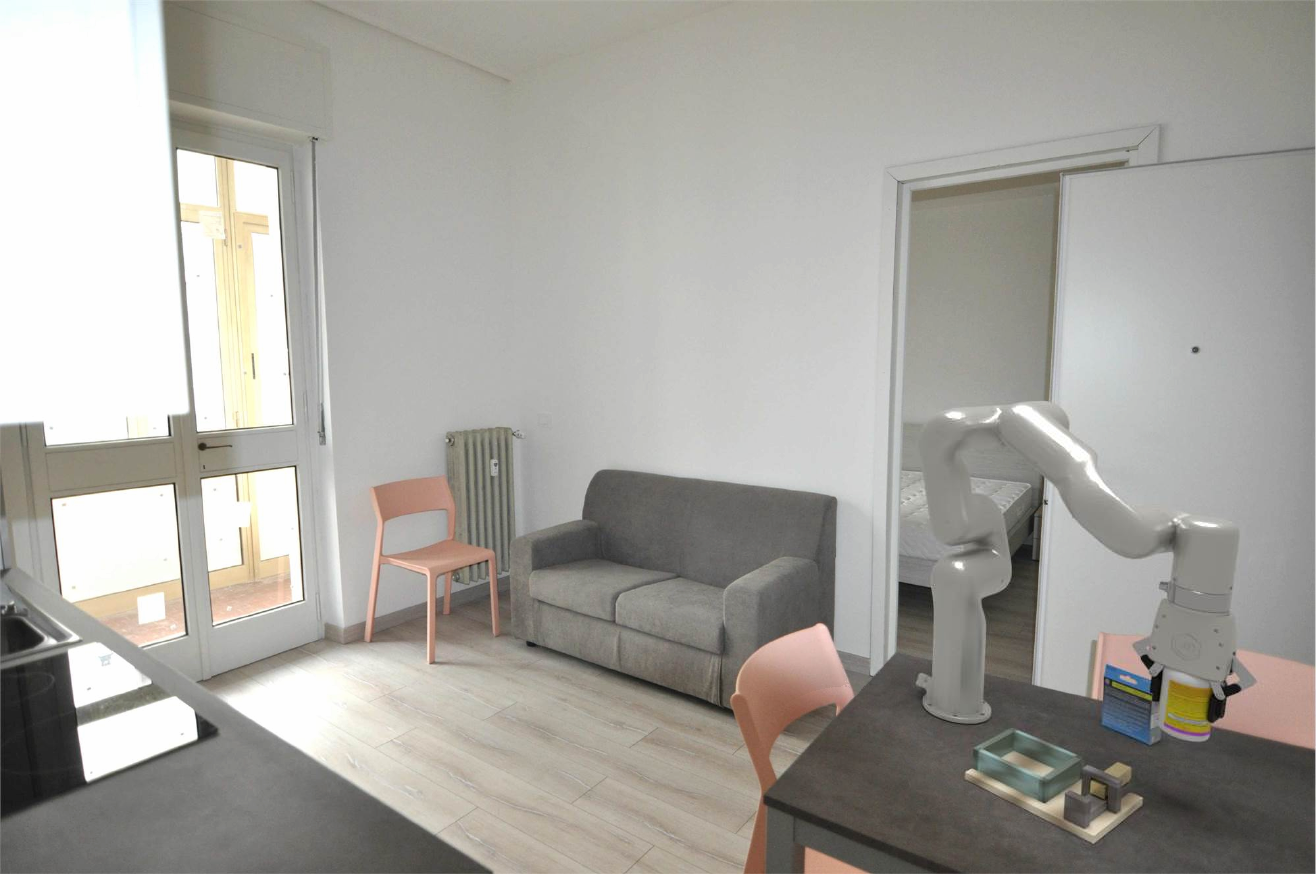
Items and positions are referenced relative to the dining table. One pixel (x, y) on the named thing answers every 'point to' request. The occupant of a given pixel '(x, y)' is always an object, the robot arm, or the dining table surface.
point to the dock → (1051, 784)
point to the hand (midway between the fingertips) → (1185, 708)
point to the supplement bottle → (1184, 705)
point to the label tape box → (1129, 706)
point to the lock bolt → (1115, 770)
